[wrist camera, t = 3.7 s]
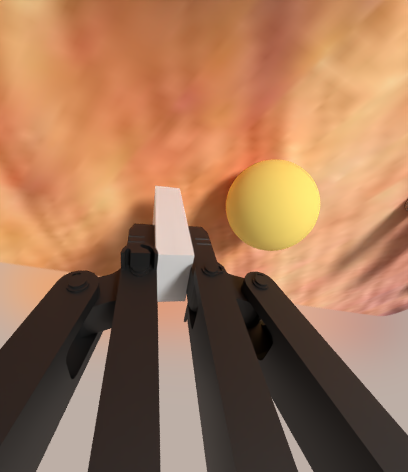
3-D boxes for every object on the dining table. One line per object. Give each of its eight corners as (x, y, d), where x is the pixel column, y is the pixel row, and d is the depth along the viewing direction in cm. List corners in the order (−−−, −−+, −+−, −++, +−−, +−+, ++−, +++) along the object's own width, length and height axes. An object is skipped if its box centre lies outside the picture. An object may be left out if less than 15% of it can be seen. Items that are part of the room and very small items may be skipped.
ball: (226, 143, 15) (259, 177, 11) (303, 152, 17) (363, 186, 12) (210, 218, 19) (230, 270, 14) (276, 221, 20) (314, 268, 15)
